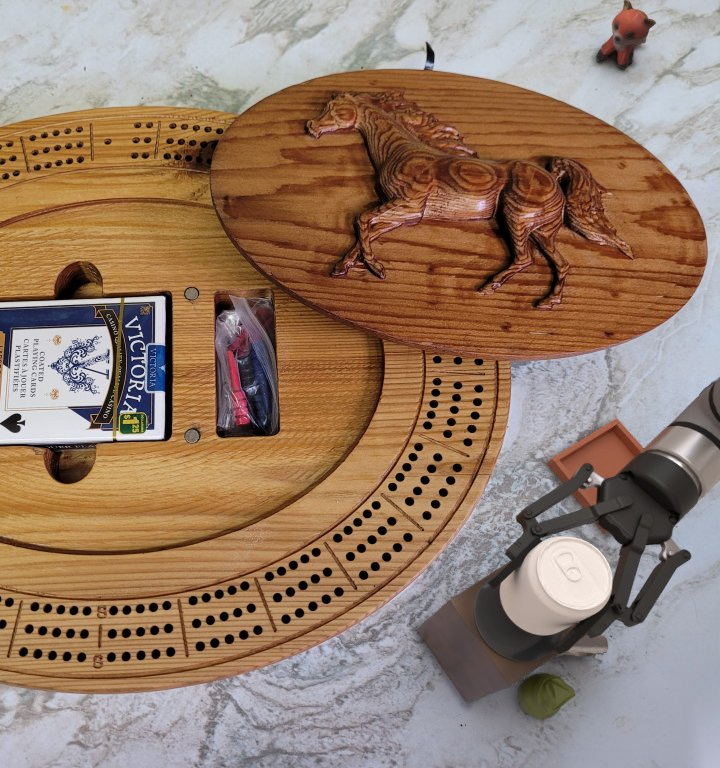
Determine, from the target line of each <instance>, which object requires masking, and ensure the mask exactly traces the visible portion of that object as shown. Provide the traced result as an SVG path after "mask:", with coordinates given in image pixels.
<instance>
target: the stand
mask: <svg viewBox="0 0 720 768" xmlns="http://www.w3.org/2000/svg"><path fill="white" fill-rule="evenodd" d="M510 562H511V560H510V561H508V562H506V563H505V564H503V565H502V566H500V567H499V568H497V569H495V570H494V571H492V572H490V573H489V574H488V575H485V576H484V577H482V578H481V579H480V580H478V581H476V582H475V583H474V584H472V585H470V586H469V587H467V588H466V589H464V590H463V591H461V592H459V593H457V594H456V595H455V596H453V597H451V598H450V599H448V600H447V601H446V602H445V603H444V604H442V606H441V607H439V608H438V609H437V610H436V611H435V612H434V613H433V614H432V615H431V616H430V617H429V618H428V619H426V620H425V621H424V622H423V623H422V624H420V625H419V627H417V629H416V632H417V633H418V634H419V636H420V637H421V639H422V640H423V642H424V643H425V645H426V647H428V649H429V651H430V652H431V654H432V655H433V656H434V658H435V659H436V661H437V662H438V664H439V665H440V667H441V669H442V670H443V671H444V673H445V675H446V676H447V677H448V679H449V680H450V682H451V683H452V685H453V686H454V687H455V689H456V691H457V692H458V694H459V695H460V697H461V698H462V699H463V701H464V702H465V704H467V703H470V702H473V701H476V700H478V699H481V698H484V697H486V696H489V695H491V694H494V693H497V692H500V691H501V690H504V689H507V688H510V687H512V686H513V685H515V684H516V683H517V682H519V681H521V680H522V679H525V677H527V676H528V675H529V674H531V673H533V672H534V671H535V670H537V669H539V668H540V667H541V666H543V665H545V664H546V663H547V662H548V661H549V662H550V660H552V659H553V658H555V657H557V656H556V655H558V653H557V652H556V651H555V650H554V651H553V652H552V653H550V654H549V655H548V656H546V657H544V658H542V659H540V660H537V661H533V662H516V661H512V660H509V659H506V658H504V657H502V656H500V655H498V654H497V653H495V652H494V651H493V650H492V649H491V648H490V647H488V646H487V644H486V643H485V642H484V641H483V639H482V638H481V636H480V635H479V633H478V630H477V628H476V625H475V622H474V616H473V606H474V601H475V598H476V595H477V593H478V591H479V590H480V588H481V587H482V586H483V585H484V584H485V583H486V582H487V581H488V580H489V579H491V578H493V577H495V576H496V575H497V574H499V573H500V572H501V571H502V570H503V569H504V568H505V567H506V566H507V565H508V564H509V563H510ZM578 623H579V622H578ZM578 623H576V624H574V625H572V626H570V627H568V628H566V629H564V630H563V634H562V638H561V640H562V639H563V638H564V637H565V636H566V635H567V634H568V633H569V632H570V631H571V630H572V629H573V628H574V627H575V626H576V625H577V624H578ZM586 635H587V634H586V633H585V634H584V635H583V636H582V637H581V638H583V637H584V636H586ZM581 638H580V639H581ZM580 639H579V640H580ZM561 640H560V641H561Z"/></svg>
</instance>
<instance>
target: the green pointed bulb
mask: <svg viewBox="0 0 720 768" xmlns="http://www.w3.org/2000/svg"><path fill="white" fill-rule="evenodd" d="M575 697H576V691H575V689H574V687H572V686H570V685H569V684H568V683H567V682H566V681H565V679H563V678H562V677H561V676H559V675H556V674H551V673H550V672H549V673H548V672H537V673H534V674H531V675H529V676H526V678H523V680H522V681H521V682H520V684H519V686H518V688H517V700H518V703H519V704H520V706H521V708H522V709H523V711H524V712H525V713H527V714H528V715H529V716H531V717H533V718H535V719H538V720H546V719H550V718H552V717H555V715H556V714H558V712H559V711H560V710H561V708H562V706H564V705H565V704H567V703H568V702H569V701H572V699H573V698H575Z"/></svg>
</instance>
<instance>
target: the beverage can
mask: <svg viewBox="0 0 720 768" xmlns="http://www.w3.org/2000/svg"><path fill="white" fill-rule="evenodd" d="M542 541H543V542H541V543H540V544H538V545H537V546H536V547H535V548H534V549H532V550H531V551H530V552H529V553H528V555H527V556H526V558H525V559H524V562H522V563H521V564H520V565H519V566H518V567H517V568H516V569H515V570H514V571H513V572H512V573H511V574H510V575H509V576H508V577H507V578H506V579H505V580H504V581H503V582H502V583H501V585H500V599H501V603H502V606H503V608H504V610H505V612H506V614H507V615H508V617H509V618H510V619H511V620H512V621H513V622H514V623H515V624H516V625H517V626H518V627H520V628H521V629H523V630H525V631H527V632H529V633H532V634H536V635H552V634H555V633H558V632H560V631H562V630H564V629H566V628H568V627H570V626H572V625H574V624H576V623H579V622H580V621H582V620H584V619H586V618H588V617H590V616H592V615H594V614H595V613H597V612H599V611H600V610H601V609H602V608H603V607H604V606H605V605H606V603H607V602H608V600H609V598H610V595H611V591H612V581H613V572H612V569H611V566H610V564H609V561H608V560H607V558H606V557H605V555H604V554H603V553H602V552H601V551H600V550H599V549H598V548H597V547H596V546H595V545H593V544H591V542H588V541H586V540H584V539H581V538H578V537H573V536H568V535H557V536H552V537H549V538H546V539H544V540H542Z"/></svg>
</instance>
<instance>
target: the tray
mask: <svg viewBox="0 0 720 768" xmlns="http://www.w3.org/2000/svg"><path fill="white" fill-rule="evenodd" d="M643 448H644V446H643V445H642V444H641V443H640V442H639V441H638V440H637V439H636V437H635V436H634V435H633V434H632V433H631V432H630V431H629V429H627V428H626V426H625V425H624V424H623V423H622V422H621V421H620V420H619V419H618V417H617V418H614V419H612V420H611V421H610V422H608V423H607V424H605V425H603V426H602V427H600V428H598V429H597V430H595V431H593V432H592V433H590V434H589V435H587V436H585V437H584V438H582V439H580V440H579V441H577V442H575V443H573V444H572V445H571V446H569V447H567V448H566V449H564V450H563V451H561V452H559V453H558V454H556V455H554V456H553V457H551V458H550V459H549V461H548V462H547V463H546V465H547V466H548V468H549V469H550V470H551V471H552V472H553V474H554V475H555V476H556V477H557V478H558V480H559V481H560V482H561V483H562V484H564V483H565V482H567V481H568V480H570V479H571V477H572V476H573V475H574V473H575V472H576V471H577V470H578V469H579V468H580V467H581V466H582V465H583V464H585V463H589V464H591V465H592V466H593V468H594V470H593V471H594V472H595V473H597V474H598V475H600V476H601V477H603V478H604V479H606V478H610V477H614V476H615V475H616V474H617V473H618V472H619V471H620V470H622V469H623V468H624V467H625V466H626V465H627V464H628V463H629V462H630V461H631V460H632V459H633V458H634V457H635V456H636V455H638V454H640V452H641V451H642V450H643ZM571 496H572V497H574V499H575V500H576V501H577V503H578V504H579V505H580V507H582V509H584V508H588V507H590V506H592V505H595V504H596V498H597V488H596V487H590V488H589V489H587V490H584V489H580V488H579V489H578V490H577V491H576V492H574V493H573V494H572V495H571ZM594 523H595V525H597V527H598V529H600V530H601V532H602V533H603V534H604V535H605V534H607V533H609V532H608V531H606V530H605V529H603V528H602V527H601V526H600V525H599V524H598V521H597V522H594Z"/></svg>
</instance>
